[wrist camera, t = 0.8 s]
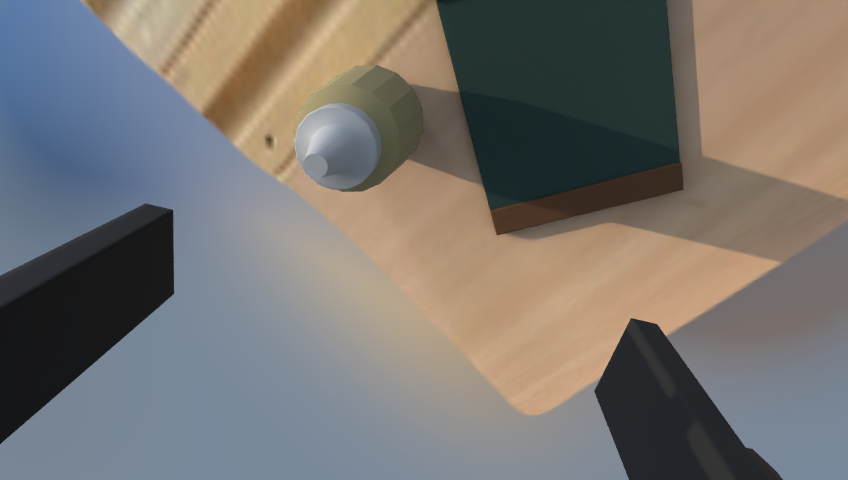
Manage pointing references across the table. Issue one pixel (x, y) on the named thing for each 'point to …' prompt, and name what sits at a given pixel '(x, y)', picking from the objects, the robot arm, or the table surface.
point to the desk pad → (565, 103)
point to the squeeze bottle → (358, 129)
